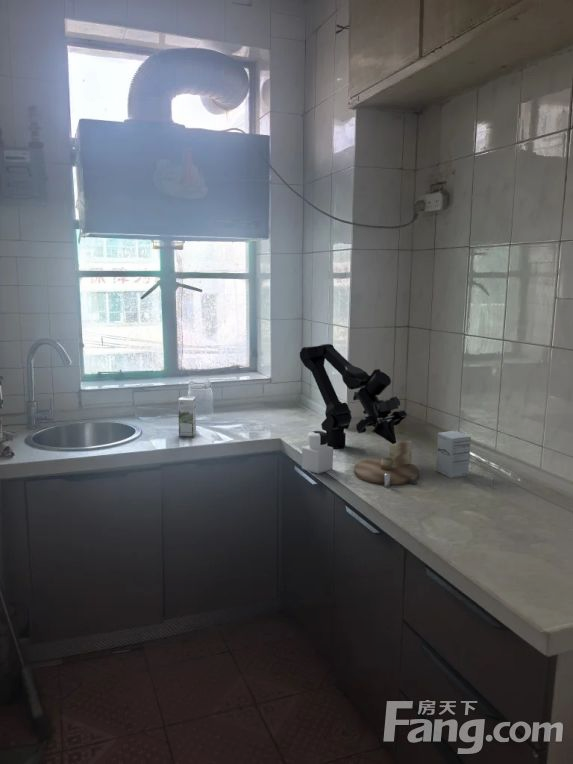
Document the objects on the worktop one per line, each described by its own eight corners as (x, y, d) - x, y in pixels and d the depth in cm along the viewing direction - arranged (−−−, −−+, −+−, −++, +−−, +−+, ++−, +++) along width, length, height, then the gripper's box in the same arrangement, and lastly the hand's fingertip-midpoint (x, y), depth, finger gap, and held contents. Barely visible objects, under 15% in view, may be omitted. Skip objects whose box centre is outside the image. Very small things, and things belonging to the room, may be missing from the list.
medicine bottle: (316, 463, 198) (317, 428, 196) (333, 469, 193) (334, 432, 191) (301, 468, 193) (301, 432, 191) (317, 474, 188) (318, 436, 186)
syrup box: (196, 433, 233) (195, 396, 230) (193, 437, 227) (193, 399, 224) (181, 432, 233) (180, 395, 230) (178, 437, 227) (177, 399, 225)
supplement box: (434, 470, 192) (437, 432, 190) (453, 468, 195) (456, 430, 193) (449, 478, 185) (452, 438, 183) (469, 475, 188) (471, 435, 186)
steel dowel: (384, 487, 177) (384, 474, 176) (384, 485, 178) (384, 472, 178) (389, 488, 177) (390, 474, 176) (389, 486, 178) (390, 473, 178)
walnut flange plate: (391, 491, 173) (392, 461, 172) (340, 470, 190) (341, 444, 189) (438, 477, 186) (439, 449, 184) (386, 459, 202) (387, 433, 201)
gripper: (363, 392, 190) (388, 434, 183) (404, 386, 201) (428, 425, 194) (345, 412, 197) (368, 453, 190) (385, 405, 208) (409, 443, 202)
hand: (394, 443), depth 194 cm, fingers closed
